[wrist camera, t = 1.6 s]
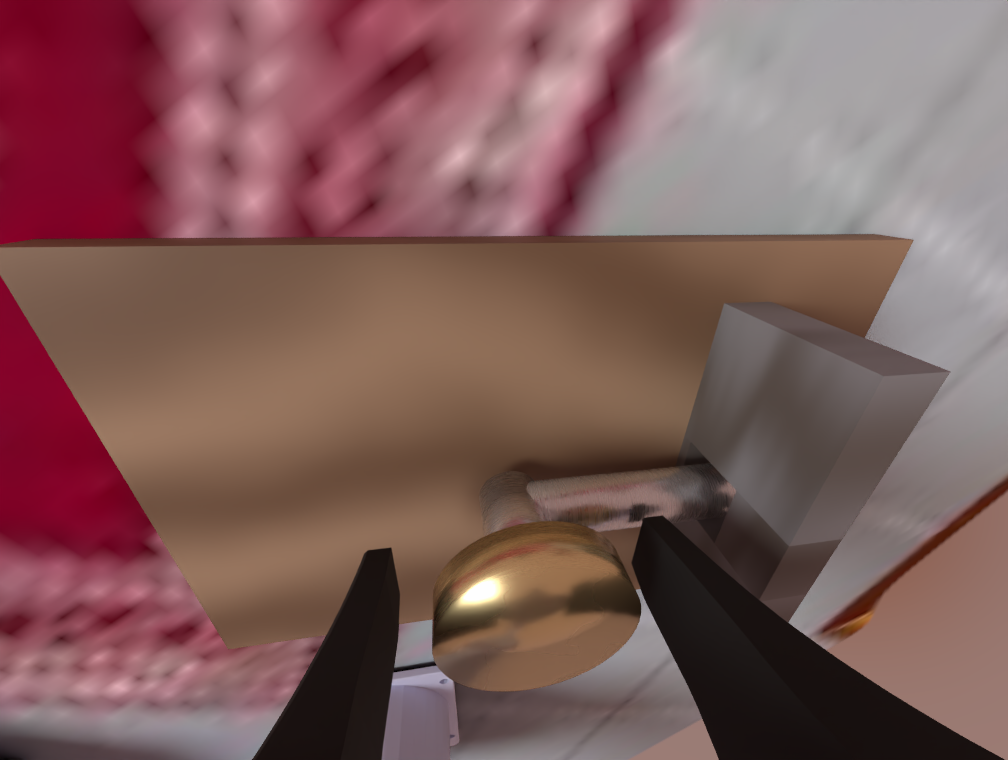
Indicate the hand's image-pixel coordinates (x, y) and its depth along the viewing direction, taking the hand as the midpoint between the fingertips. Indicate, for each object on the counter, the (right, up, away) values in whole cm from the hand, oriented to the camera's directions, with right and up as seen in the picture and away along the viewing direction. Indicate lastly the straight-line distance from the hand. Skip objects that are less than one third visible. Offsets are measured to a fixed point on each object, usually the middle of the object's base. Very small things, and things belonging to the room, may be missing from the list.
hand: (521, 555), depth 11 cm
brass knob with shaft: (+4, +1, +3) cm, 5 cm away
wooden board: (0, +2, +4) cm, 4 cm away
